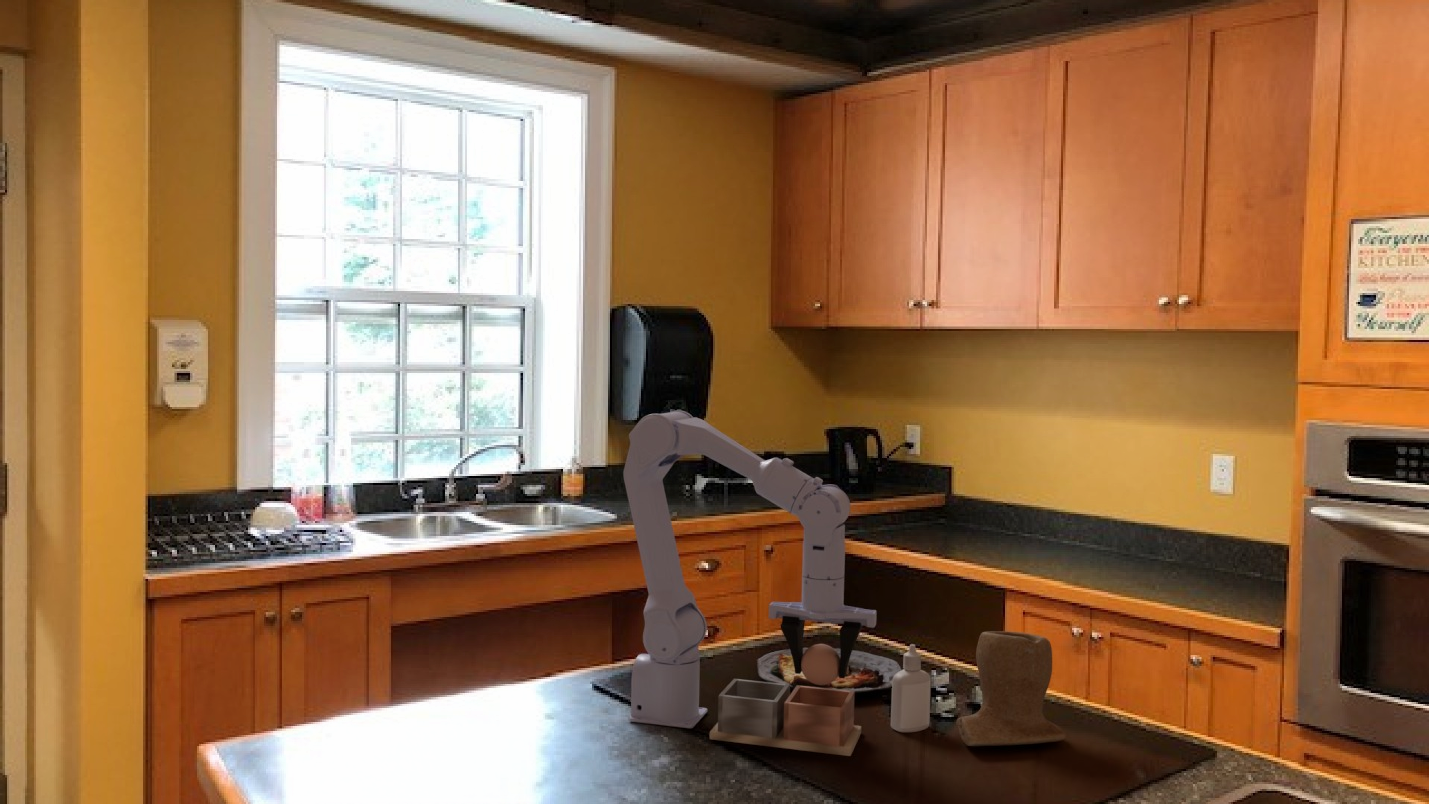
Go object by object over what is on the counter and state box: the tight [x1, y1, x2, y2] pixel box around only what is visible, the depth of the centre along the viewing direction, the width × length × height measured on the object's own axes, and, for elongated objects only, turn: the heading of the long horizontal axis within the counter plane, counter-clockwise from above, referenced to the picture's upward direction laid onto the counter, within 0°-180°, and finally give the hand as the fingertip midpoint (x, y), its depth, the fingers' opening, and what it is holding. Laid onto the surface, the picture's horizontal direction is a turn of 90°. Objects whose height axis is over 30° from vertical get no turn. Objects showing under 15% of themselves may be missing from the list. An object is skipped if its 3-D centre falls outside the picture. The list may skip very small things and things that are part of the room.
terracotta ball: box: [801, 643, 840, 685], centre depth 157 cm, size 6×6×6 cm
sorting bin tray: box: [709, 678, 862, 757], centre depth 159 cm, size 19×9×6 cm, turn 74°
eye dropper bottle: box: [890, 643, 931, 733], centre depth 163 cm, size 4×6×12 cm
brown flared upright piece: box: [955, 630, 1066, 747], centre depth 159 cm, size 15×12×15 cm
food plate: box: [756, 647, 902, 694], centre depth 185 cm, size 25×23×4 cm
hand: (820, 673), depth 157 cm, fingers closed on terracotta ball, 5 cm apart
